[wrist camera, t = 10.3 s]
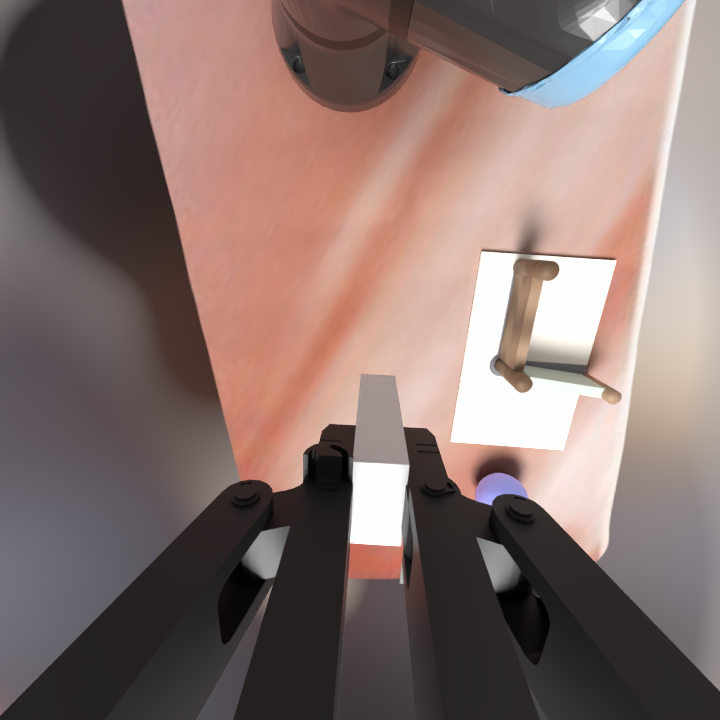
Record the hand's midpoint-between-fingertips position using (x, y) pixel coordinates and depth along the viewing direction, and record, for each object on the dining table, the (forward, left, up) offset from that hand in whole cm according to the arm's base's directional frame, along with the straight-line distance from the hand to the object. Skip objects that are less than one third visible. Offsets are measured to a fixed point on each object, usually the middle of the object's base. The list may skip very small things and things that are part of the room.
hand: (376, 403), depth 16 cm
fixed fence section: (+1, +17, -30) cm, 35 cm away
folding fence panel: (+8, +24, -29) cm, 39 cm away
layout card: (+6, +20, -30) cm, 37 cm away
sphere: (+26, +20, -30) cm, 45 cm away
